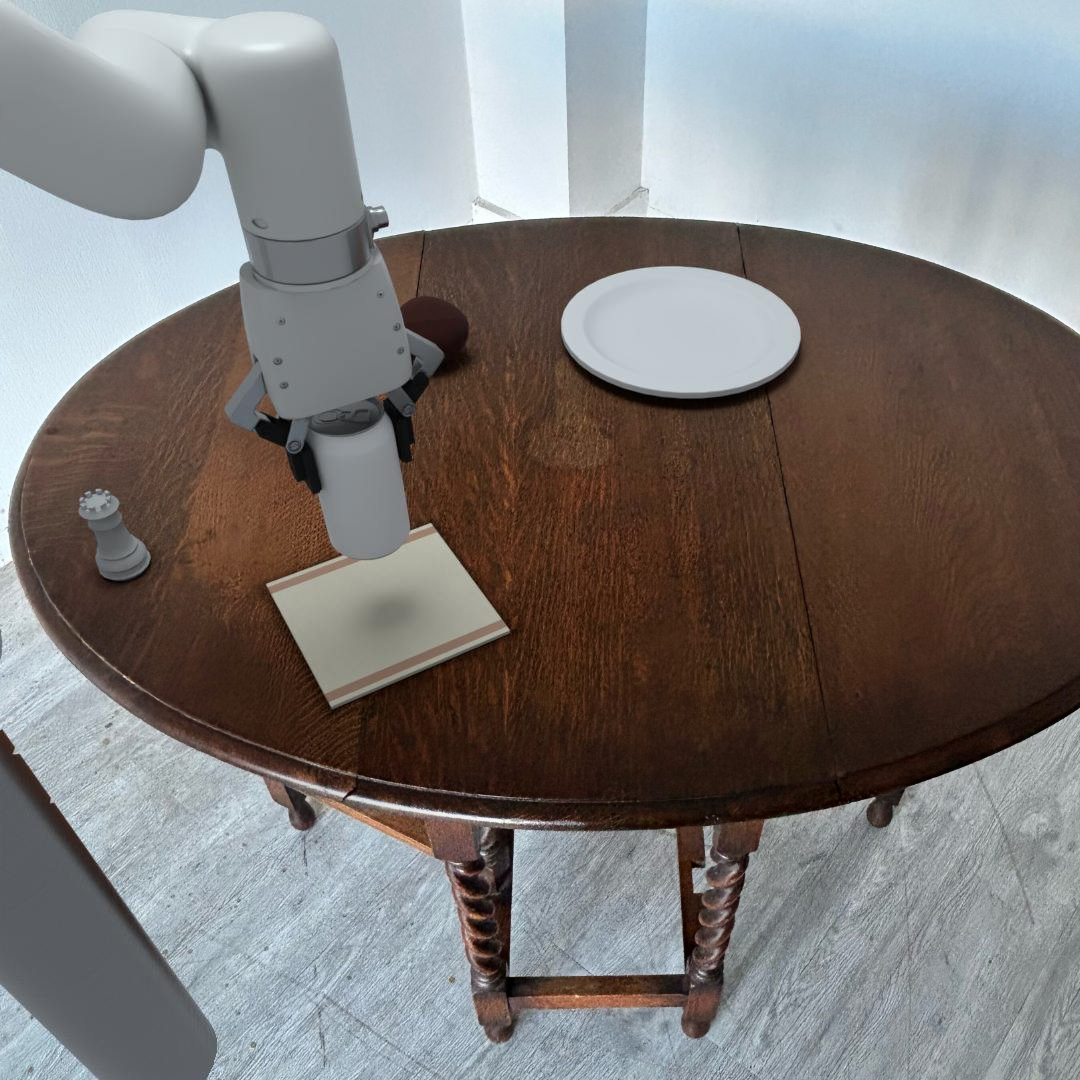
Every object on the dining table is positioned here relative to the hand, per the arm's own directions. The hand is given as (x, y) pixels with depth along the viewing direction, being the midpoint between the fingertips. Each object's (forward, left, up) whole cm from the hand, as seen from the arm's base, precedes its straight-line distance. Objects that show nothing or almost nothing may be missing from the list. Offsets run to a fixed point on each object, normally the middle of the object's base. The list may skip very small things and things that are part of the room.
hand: (356, 466), depth 75 cm
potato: (+20, +34, -16) cm, 43 cm away
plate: (+47, +23, -16) cm, 55 cm away
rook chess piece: (-18, +17, -16) cm, 29 cm away
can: (0, 0, -7) cm, 7 cm away
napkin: (0, 0, -16) cm, 16 cm away
